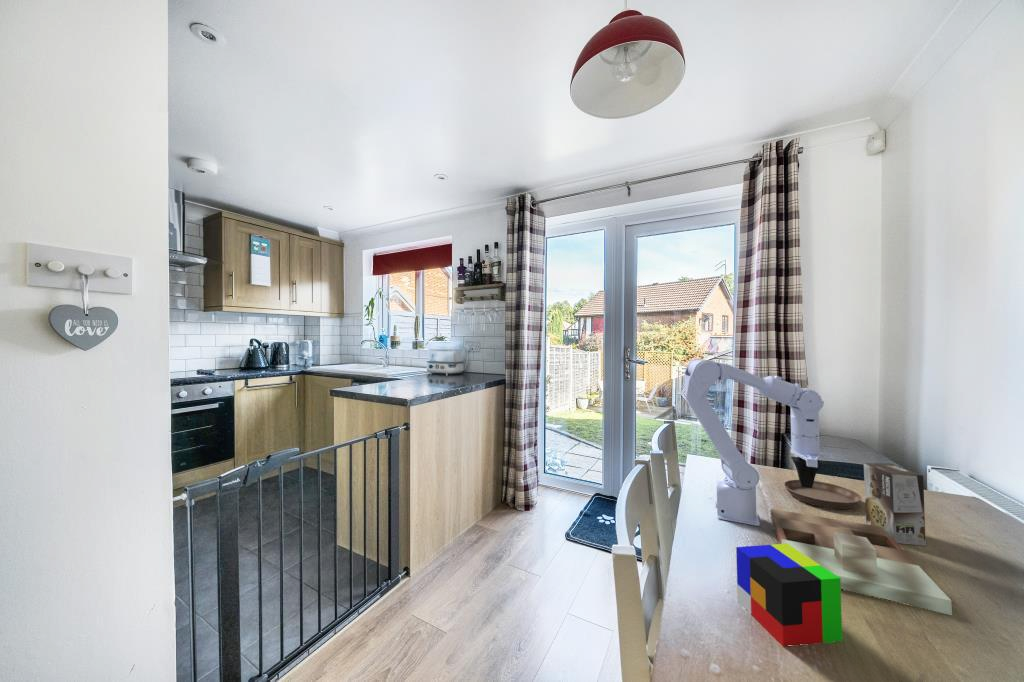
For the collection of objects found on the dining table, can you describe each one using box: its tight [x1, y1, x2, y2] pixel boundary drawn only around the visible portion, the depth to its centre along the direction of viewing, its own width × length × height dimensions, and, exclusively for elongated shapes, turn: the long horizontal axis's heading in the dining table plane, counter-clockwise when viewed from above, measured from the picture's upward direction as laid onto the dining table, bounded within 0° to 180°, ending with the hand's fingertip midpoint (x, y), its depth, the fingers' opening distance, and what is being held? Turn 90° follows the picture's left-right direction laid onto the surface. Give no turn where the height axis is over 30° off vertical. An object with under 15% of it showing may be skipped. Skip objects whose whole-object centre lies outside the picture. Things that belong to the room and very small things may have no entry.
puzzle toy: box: [735, 543, 843, 648], centre depth 61 cm, size 10×10×10 cm
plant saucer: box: [783, 479, 863, 510], centre depth 108 cm, size 18×18×3 cm
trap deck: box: [769, 508, 953, 616], centre depth 79 cm, size 22×28×2 cm
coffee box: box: [863, 462, 927, 546], centre depth 88 cm, size 9×6×16 cm
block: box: [834, 532, 877, 576], centre depth 72 cm, size 5×5×5 cm
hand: (806, 486), depth 94 cm, fingers closed
